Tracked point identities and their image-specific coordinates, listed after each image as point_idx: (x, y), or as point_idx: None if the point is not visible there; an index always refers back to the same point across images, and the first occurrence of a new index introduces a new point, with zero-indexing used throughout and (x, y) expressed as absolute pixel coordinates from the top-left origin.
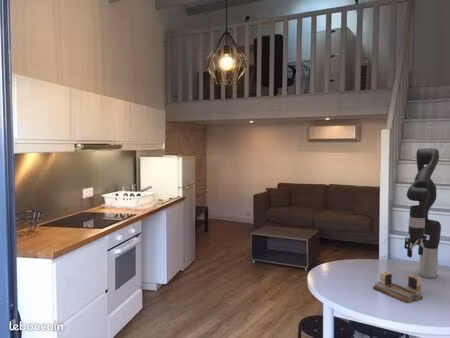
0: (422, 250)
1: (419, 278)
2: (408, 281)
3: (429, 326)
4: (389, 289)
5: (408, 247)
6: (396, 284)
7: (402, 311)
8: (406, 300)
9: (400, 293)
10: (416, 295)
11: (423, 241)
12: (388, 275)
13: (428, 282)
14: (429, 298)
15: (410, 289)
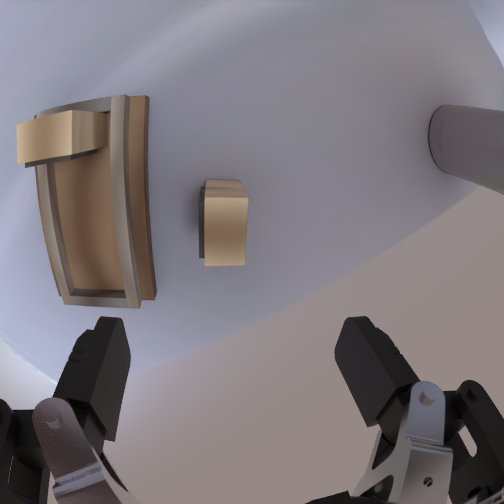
0: (363, 403)
1: (226, 265)
2: (205, 189)
3: (48, 378)
4: (43, 204)
5: (19, 466)
6: (114, 173)
7: (24, 313)
8: (59, 293)
9: (53, 265)
10: (108, 304)
11: (461, 473)
12: (42, 164)
13: (386, 181)
14: (194, 298)
15: (128, 257)
